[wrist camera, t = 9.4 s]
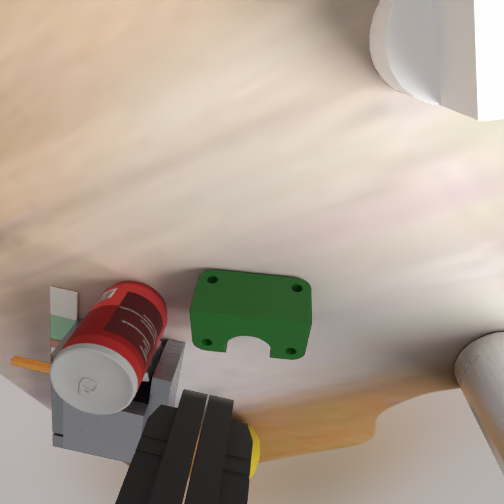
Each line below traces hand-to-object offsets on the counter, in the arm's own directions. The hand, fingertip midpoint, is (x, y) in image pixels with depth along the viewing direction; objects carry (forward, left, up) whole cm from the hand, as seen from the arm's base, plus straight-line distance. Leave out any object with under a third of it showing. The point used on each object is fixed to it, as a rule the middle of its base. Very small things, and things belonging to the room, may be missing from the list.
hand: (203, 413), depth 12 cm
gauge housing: (+10, +29, -27) cm, 41 cm away
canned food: (+10, +19, -27) cm, 35 cm away
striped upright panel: (+18, +24, -27) cm, 40 cm away
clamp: (-2, +14, -27) cm, 31 cm away
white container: (-10, -13, -27) cm, 32 cm away
